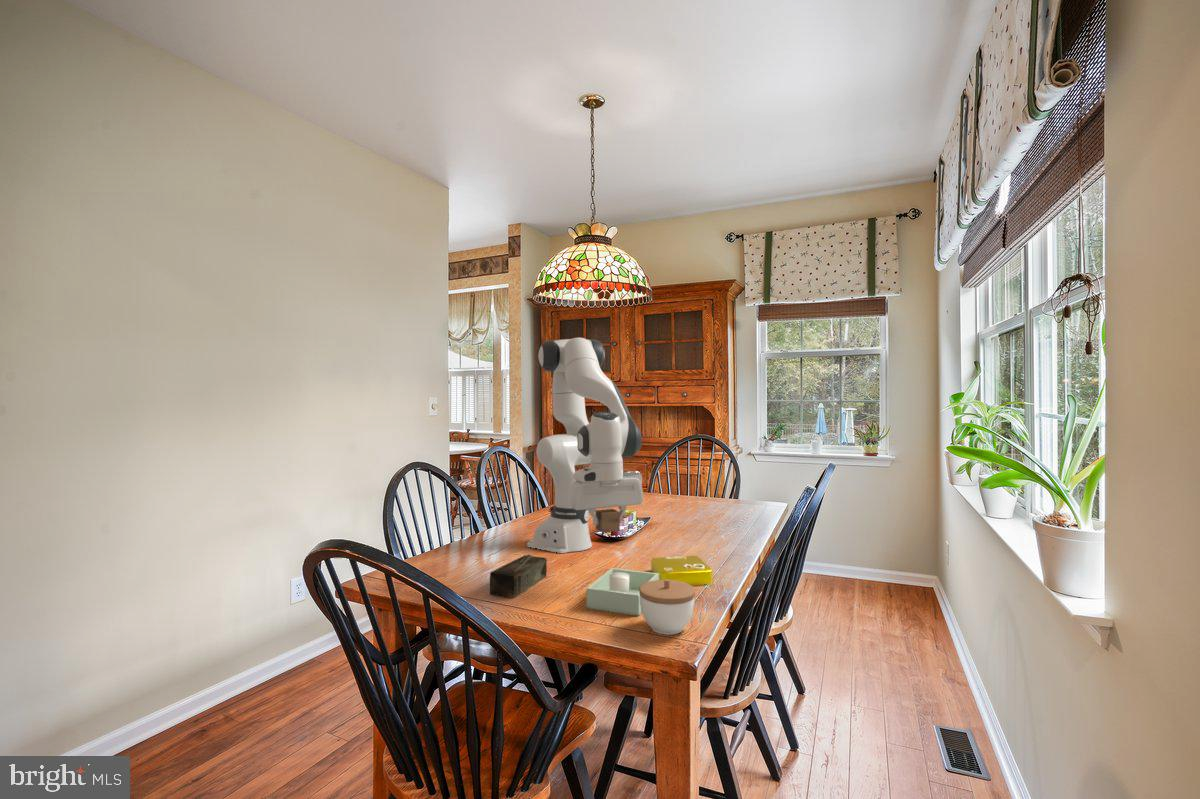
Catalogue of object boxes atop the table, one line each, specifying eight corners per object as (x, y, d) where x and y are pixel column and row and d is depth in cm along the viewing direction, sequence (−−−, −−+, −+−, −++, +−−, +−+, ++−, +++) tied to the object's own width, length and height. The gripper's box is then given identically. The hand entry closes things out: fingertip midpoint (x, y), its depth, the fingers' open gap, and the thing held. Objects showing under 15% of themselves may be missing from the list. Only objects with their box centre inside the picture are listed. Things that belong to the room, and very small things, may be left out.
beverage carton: (548, 577, 169) (548, 555, 169) (514, 600, 151) (513, 575, 151) (524, 574, 172) (524, 552, 172) (488, 596, 154) (487, 571, 154)
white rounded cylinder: (612, 598, 150) (612, 571, 150) (630, 600, 149) (631, 573, 148) (606, 605, 145) (607, 577, 145) (625, 607, 144) (626, 579, 144)
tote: (586, 608, 145) (586, 588, 145) (611, 585, 161) (611, 567, 161) (638, 616, 140) (638, 595, 140) (659, 592, 156) (659, 573, 156)
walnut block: (595, 528, 159) (595, 510, 159) (612, 526, 161) (612, 508, 161) (602, 532, 154) (601, 513, 154) (619, 530, 156) (619, 512, 156)
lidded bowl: (705, 627, 133) (705, 579, 133) (674, 645, 124) (674, 594, 124) (660, 613, 142) (660, 568, 142) (628, 629, 132) (628, 581, 132)
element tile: (697, 569, 177) (697, 553, 177) (714, 585, 162) (714, 568, 162) (649, 571, 175) (649, 556, 175) (662, 588, 160) (662, 571, 160)
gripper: (637, 469, 164) (638, 518, 164) (567, 473, 157) (568, 524, 157) (646, 471, 158) (647, 522, 158) (574, 476, 151) (575, 529, 151)
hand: (607, 523), depth 157 cm, fingers closed on walnut block, 5 cm apart
